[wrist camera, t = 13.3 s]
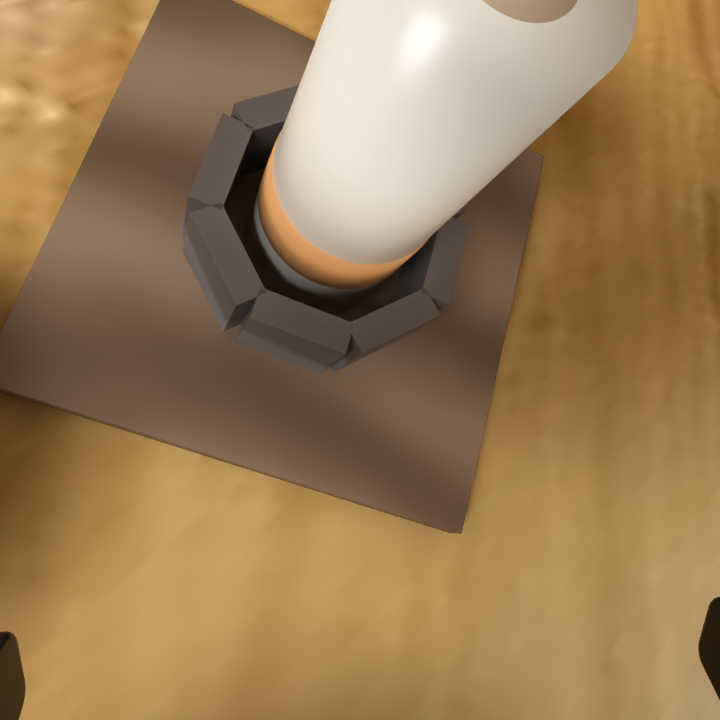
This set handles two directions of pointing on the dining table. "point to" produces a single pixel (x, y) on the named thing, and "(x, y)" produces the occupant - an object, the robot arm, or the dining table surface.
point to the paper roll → (413, 128)
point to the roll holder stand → (258, 291)
